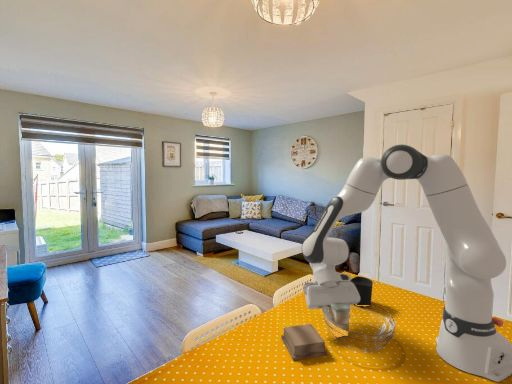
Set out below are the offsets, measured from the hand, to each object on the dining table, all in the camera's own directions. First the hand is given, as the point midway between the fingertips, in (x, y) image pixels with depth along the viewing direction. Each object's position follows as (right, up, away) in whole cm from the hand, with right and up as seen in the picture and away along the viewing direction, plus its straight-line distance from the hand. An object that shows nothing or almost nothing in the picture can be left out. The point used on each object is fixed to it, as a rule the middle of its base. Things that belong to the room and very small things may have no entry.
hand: (339, 319), depth 92 cm
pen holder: (+16, -4, +23) cm, 29 cm away
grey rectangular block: (0, -5, +1) cm, 5 cm away
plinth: (-14, -6, -6) cm, 16 cm away
